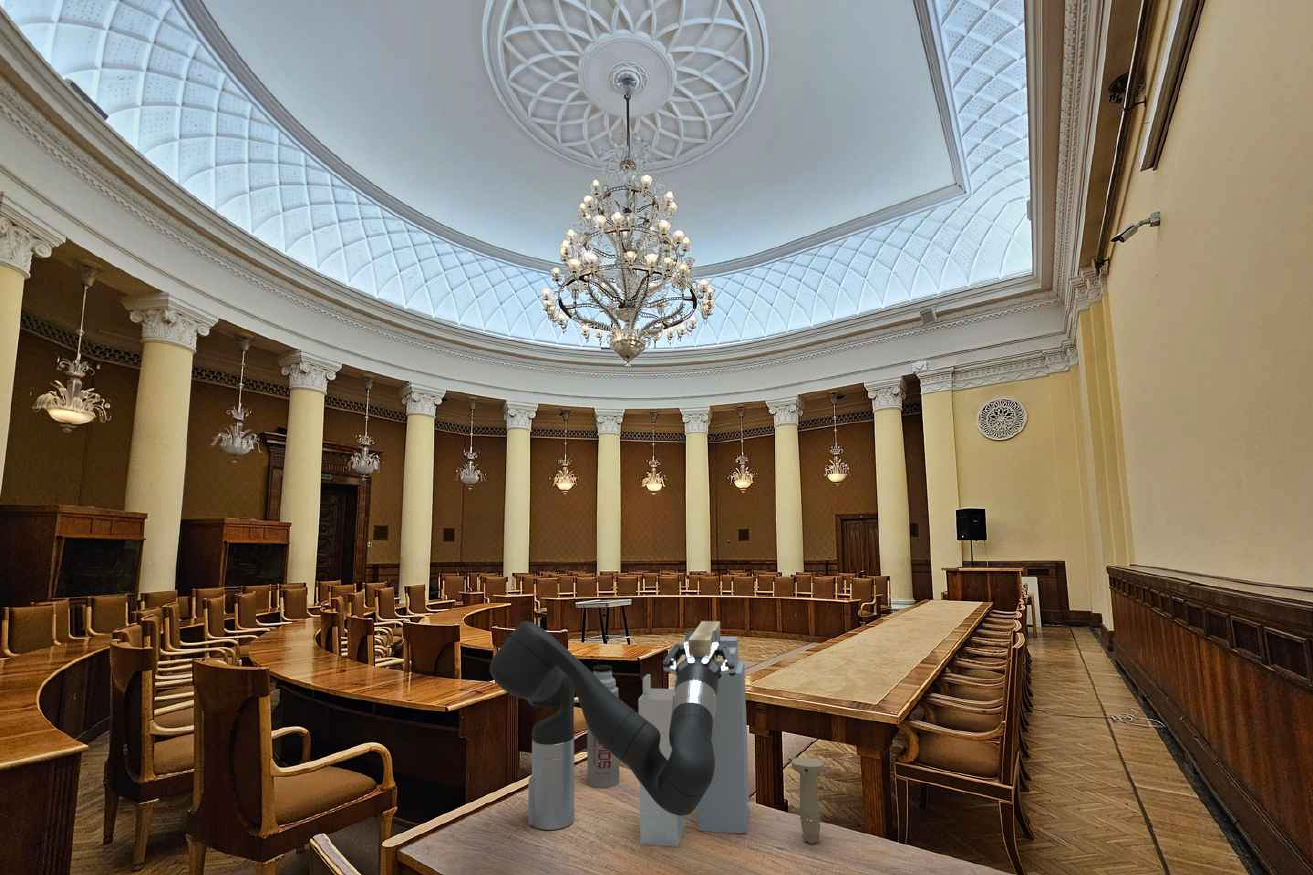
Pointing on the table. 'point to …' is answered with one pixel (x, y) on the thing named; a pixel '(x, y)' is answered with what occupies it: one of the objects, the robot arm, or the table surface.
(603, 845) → the table surface
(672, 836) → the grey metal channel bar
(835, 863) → the table surface
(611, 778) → the thermos bottle
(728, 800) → the stand
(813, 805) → the handle
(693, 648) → the block
